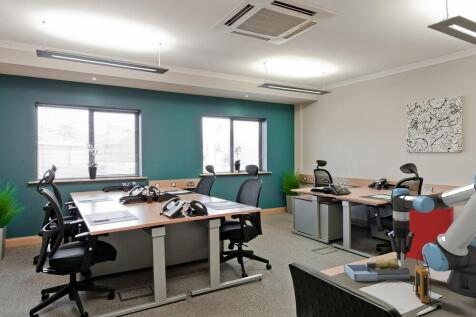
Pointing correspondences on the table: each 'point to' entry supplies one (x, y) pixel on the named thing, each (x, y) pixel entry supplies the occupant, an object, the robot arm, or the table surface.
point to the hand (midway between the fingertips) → (401, 265)
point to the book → (427, 229)
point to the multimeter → (422, 283)
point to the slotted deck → (389, 276)
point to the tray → (359, 272)
